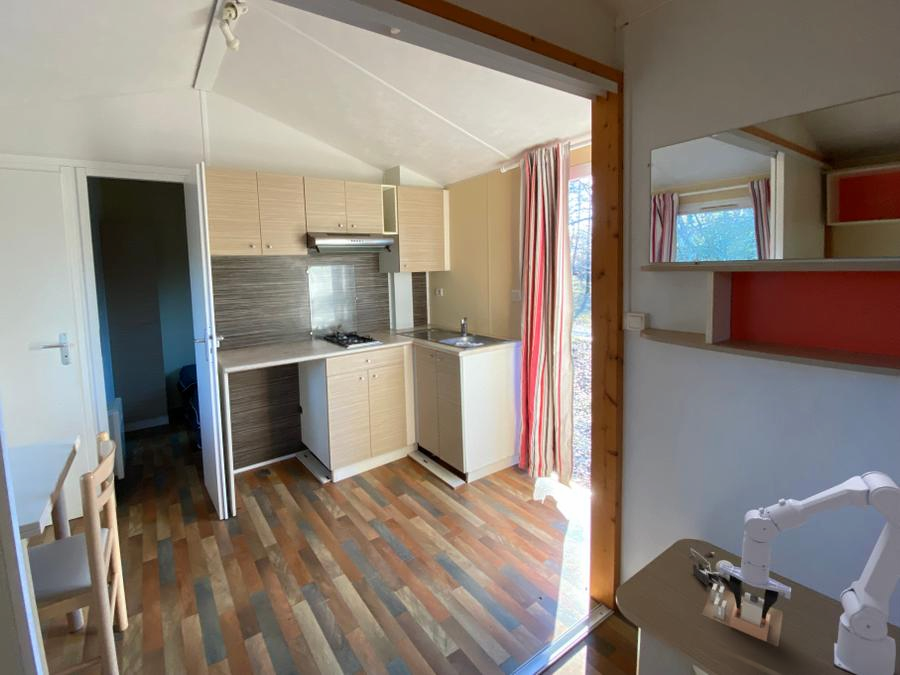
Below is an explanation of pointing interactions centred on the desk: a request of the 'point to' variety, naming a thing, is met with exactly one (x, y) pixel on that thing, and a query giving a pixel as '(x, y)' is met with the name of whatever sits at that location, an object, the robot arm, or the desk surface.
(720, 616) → the clips
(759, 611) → the connector plug
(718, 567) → the clip-on lamp
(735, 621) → the frame
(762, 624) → the board
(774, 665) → the desk surface
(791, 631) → the desk surface
